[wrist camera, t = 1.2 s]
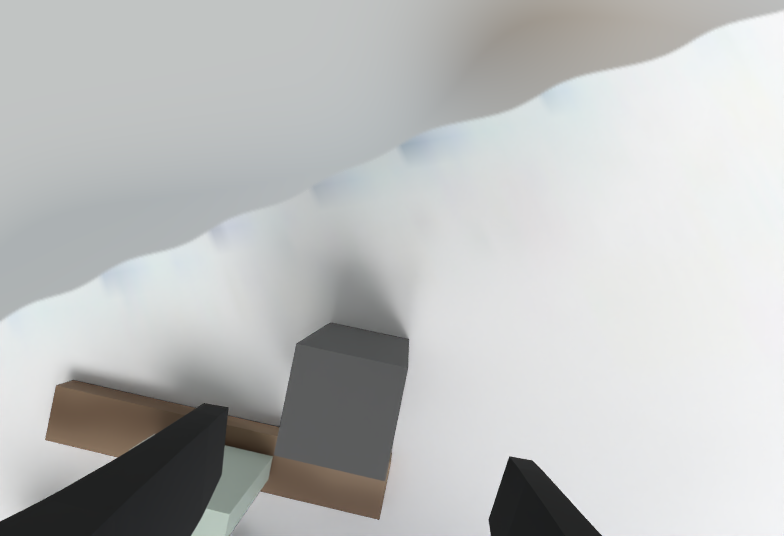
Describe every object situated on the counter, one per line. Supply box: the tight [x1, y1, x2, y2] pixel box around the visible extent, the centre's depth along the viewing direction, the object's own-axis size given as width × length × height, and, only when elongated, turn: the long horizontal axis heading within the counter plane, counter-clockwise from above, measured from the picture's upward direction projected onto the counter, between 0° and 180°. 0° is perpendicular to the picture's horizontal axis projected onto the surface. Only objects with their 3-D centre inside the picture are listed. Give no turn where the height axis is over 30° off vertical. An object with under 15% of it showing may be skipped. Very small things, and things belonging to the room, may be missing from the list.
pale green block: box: [130, 434, 273, 536], centre depth 17 cm, size 2×6×4 cm, turn 79°
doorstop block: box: [274, 323, 409, 481], centre depth 17 cm, size 4×4×6 cm
